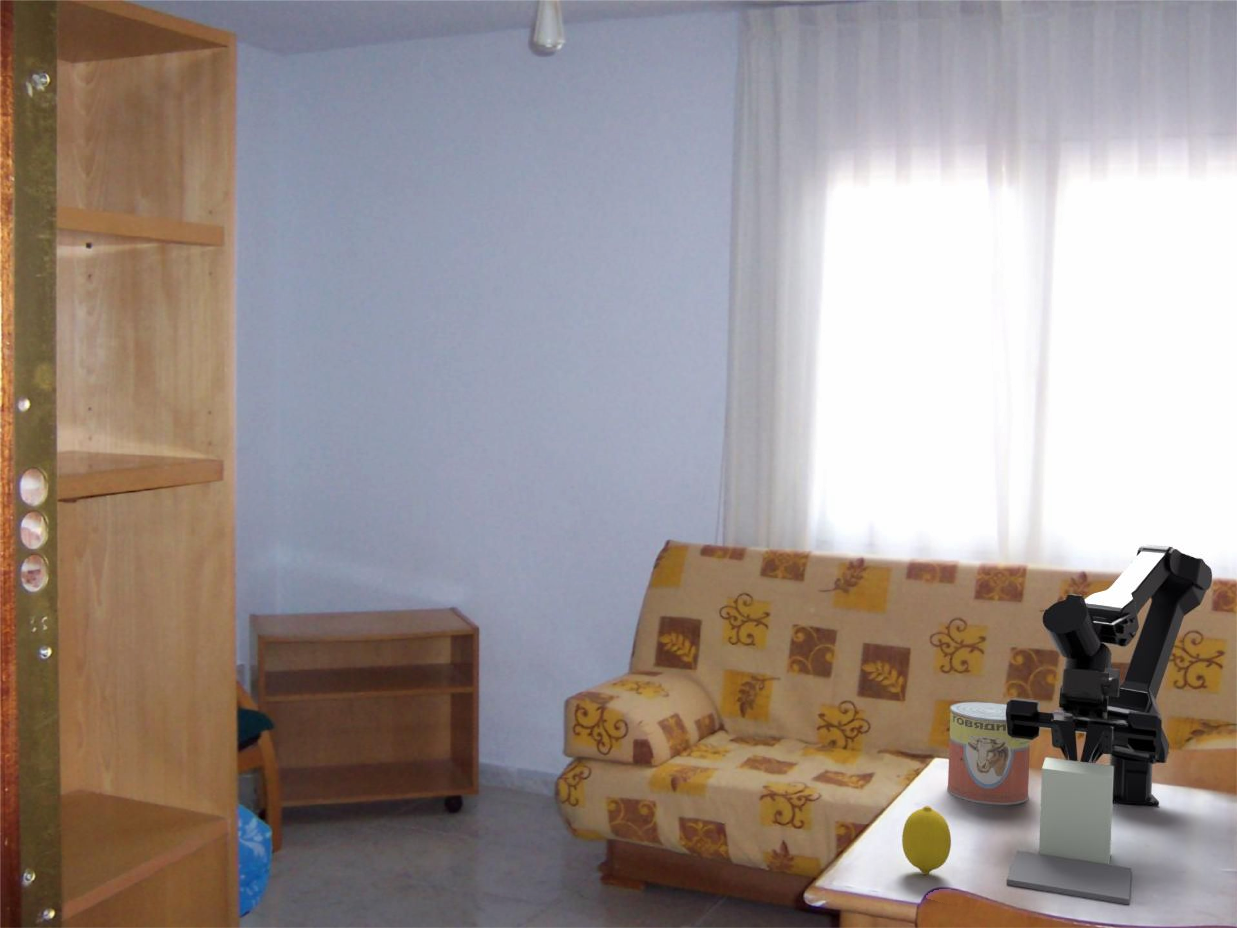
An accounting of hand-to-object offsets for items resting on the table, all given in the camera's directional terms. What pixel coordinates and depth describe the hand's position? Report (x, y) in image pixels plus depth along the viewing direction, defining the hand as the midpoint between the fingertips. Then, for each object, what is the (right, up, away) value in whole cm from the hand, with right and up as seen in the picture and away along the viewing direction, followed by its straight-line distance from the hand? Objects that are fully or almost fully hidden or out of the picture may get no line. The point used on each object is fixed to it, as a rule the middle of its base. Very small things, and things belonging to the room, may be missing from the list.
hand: (1077, 782), depth 156 cm
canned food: (-4, -8, +24) cm, 25 cm away
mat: (-5, -9, -10) cm, 14 cm away
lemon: (-22, -8, -10) cm, 25 cm away
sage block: (-1, -8, -2) cm, 9 cm away
